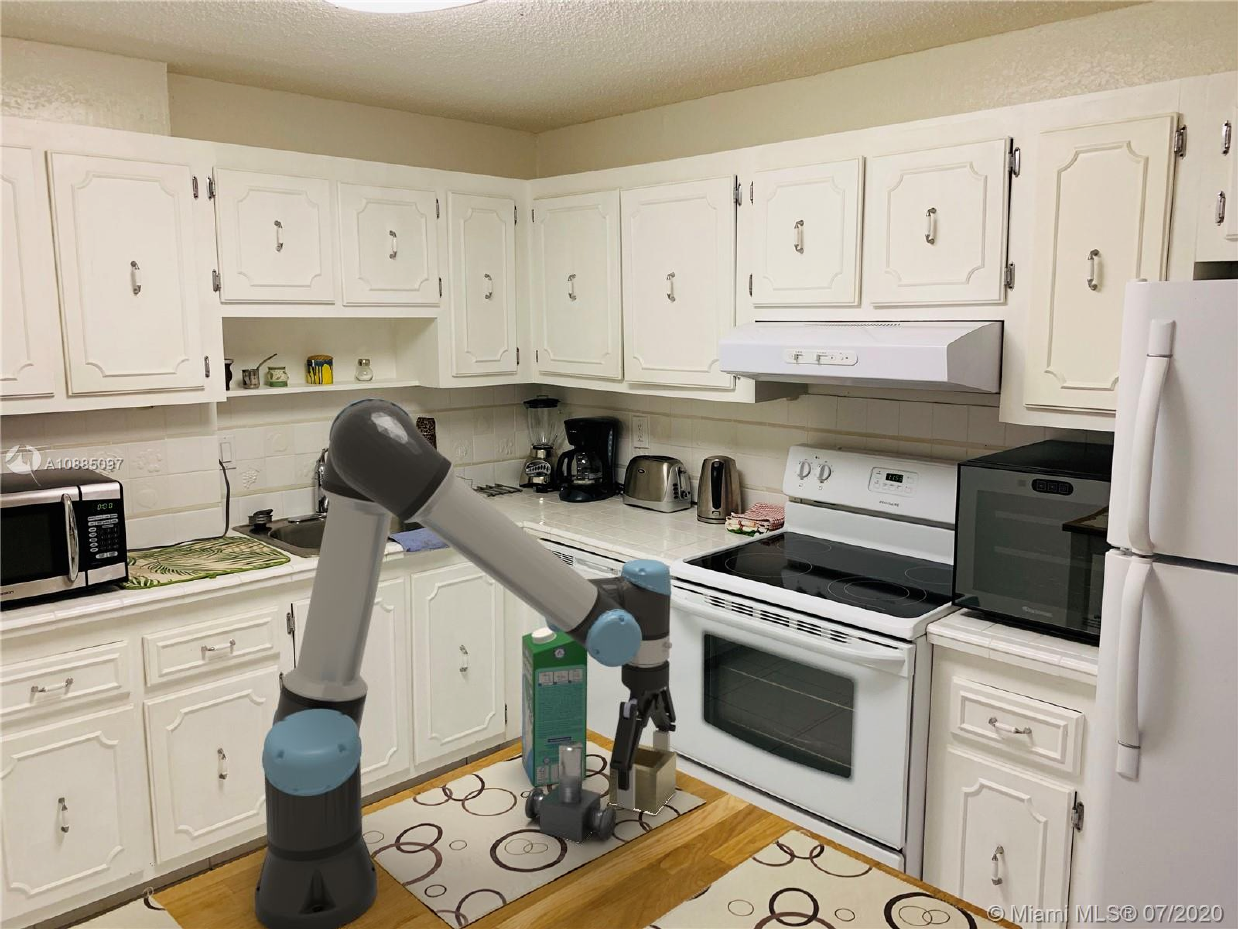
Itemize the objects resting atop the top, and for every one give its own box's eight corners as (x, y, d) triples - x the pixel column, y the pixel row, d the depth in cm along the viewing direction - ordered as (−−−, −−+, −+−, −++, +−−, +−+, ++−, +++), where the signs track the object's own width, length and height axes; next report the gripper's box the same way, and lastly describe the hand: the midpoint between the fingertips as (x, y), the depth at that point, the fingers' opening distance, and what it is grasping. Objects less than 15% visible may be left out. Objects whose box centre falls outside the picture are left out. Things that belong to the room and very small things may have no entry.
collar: (609, 804, 144) (609, 762, 143) (630, 782, 151) (631, 742, 150) (655, 816, 141) (656, 773, 140) (675, 793, 148) (676, 752, 147)
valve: (522, 827, 137) (522, 745, 135) (542, 809, 143) (543, 729, 141) (599, 849, 132) (601, 763, 130) (618, 829, 137) (619, 747, 135)
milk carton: (521, 762, 158) (521, 622, 154) (572, 756, 161) (573, 618, 157) (532, 787, 149) (533, 639, 146) (586, 780, 152) (588, 634, 149)
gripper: (633, 691, 130) (632, 830, 133) (696, 639, 152) (694, 759, 155) (586, 682, 133) (586, 818, 136) (655, 632, 156) (653, 750, 159)
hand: (644, 787), depth 146 cm, fingers open, 13 cm apart
